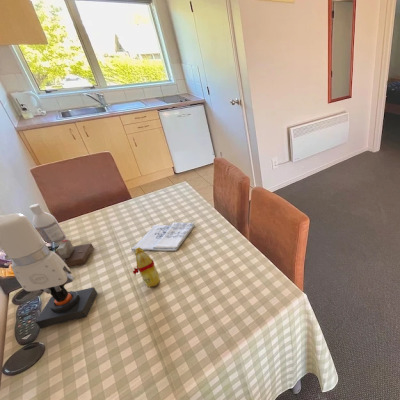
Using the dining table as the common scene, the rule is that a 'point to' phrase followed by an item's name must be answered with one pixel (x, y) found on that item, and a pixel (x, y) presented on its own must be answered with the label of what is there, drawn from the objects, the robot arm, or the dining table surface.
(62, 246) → the knob
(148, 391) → the dining table surface
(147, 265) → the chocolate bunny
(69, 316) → the button housing
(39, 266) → the robot arm
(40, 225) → the bath foam
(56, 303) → the button
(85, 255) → the dial panel
